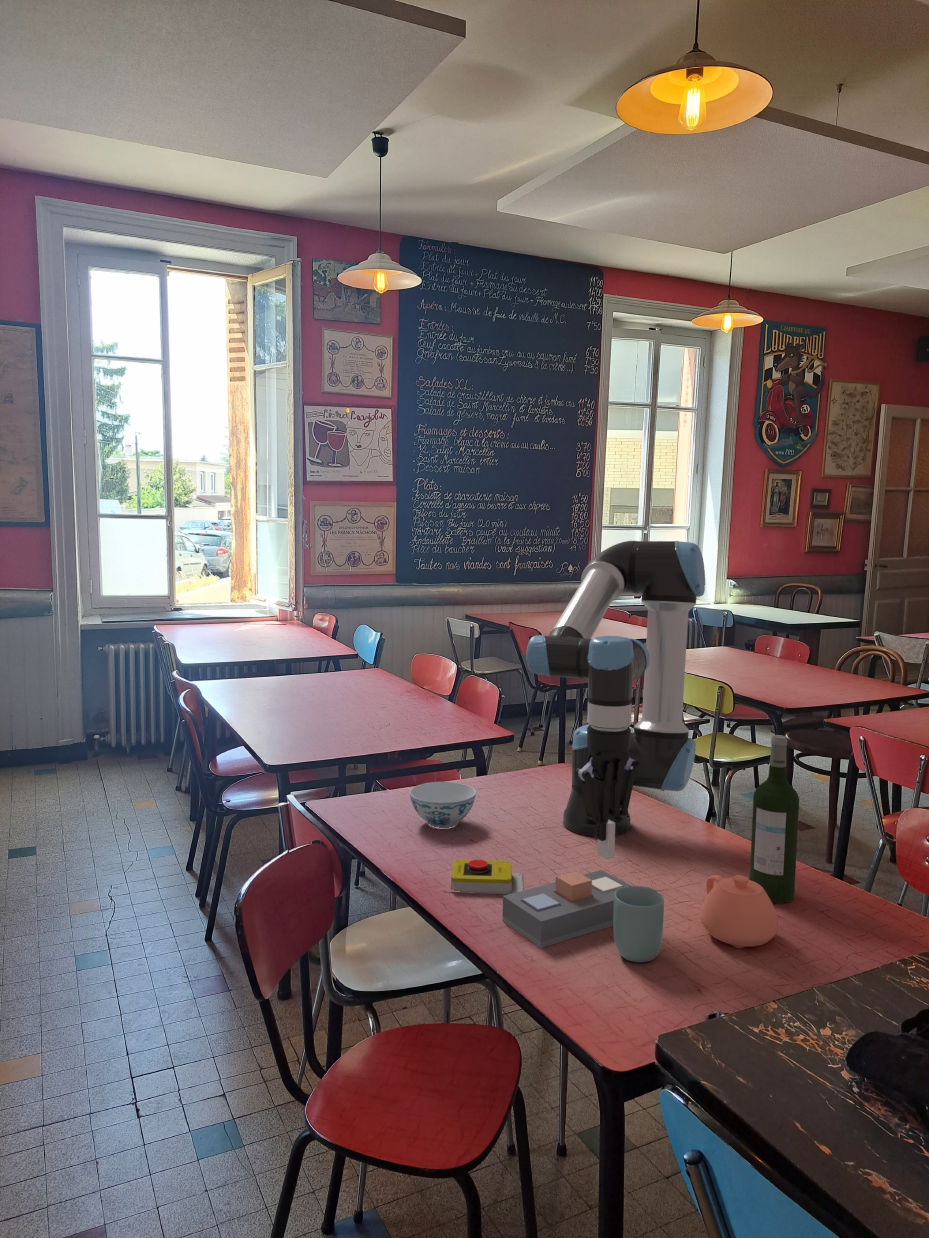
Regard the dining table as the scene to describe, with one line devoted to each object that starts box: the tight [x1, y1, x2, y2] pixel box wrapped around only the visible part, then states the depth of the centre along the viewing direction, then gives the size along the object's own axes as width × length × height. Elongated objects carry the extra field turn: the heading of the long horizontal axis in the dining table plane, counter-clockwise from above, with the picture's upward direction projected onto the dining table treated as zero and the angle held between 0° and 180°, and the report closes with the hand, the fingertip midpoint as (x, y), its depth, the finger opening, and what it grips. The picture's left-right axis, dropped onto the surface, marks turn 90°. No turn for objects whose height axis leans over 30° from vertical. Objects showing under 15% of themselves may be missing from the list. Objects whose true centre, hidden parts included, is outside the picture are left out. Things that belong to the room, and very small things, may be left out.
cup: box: [612, 885, 665, 963], centre depth 136 cm, size 8×8×10 cm
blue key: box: [523, 893, 559, 912], centre depth 145 cm, size 4×4×4 cm
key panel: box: [502, 869, 632, 949], centre depth 149 cm, size 22×11×4 cm, turn 121°
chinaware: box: [409, 781, 477, 828], centre depth 195 cm, size 15×15×8 cm
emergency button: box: [450, 859, 524, 895], centre depth 163 cm, size 9×4×15 cm
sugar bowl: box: [700, 874, 779, 949], centre depth 143 cm, size 12×14×10 cm
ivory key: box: [592, 877, 622, 894], centre depth 152 cm, size 4×4×4 cm
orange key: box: [555, 871, 592, 903], centre depth 148 cm, size 4×4×4 cm
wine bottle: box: [749, 734, 800, 905], centre depth 158 cm, size 8×8×30 cm
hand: (606, 855), depth 152 cm, fingers closed
